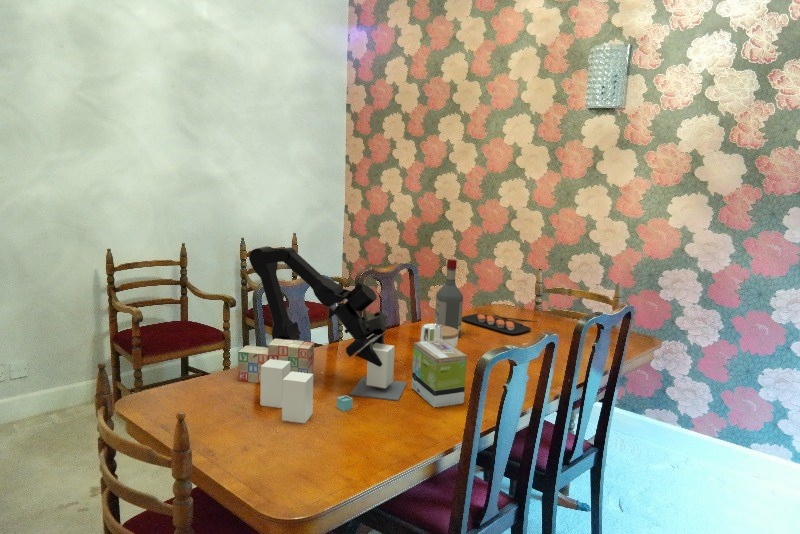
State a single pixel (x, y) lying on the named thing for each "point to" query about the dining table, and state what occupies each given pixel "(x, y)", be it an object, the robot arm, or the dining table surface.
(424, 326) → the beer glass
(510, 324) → the sushi plate
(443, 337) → the lidded bowl
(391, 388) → the charcoal mat
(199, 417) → the dining table surface
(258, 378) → the stack of blocks
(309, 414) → the tall white pillar block
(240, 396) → the dining table surface
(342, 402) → the letter cube
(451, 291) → the liquor
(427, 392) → the tea box
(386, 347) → the white rectangular prism
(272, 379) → the long cream brick
